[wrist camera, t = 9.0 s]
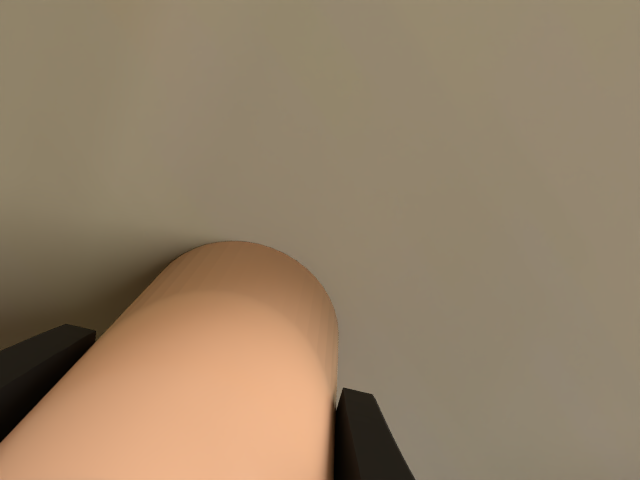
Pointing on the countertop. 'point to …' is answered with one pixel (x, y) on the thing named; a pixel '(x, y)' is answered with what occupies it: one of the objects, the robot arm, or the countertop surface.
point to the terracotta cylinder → (197, 381)
